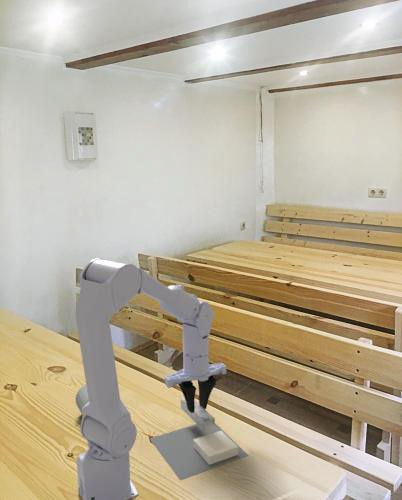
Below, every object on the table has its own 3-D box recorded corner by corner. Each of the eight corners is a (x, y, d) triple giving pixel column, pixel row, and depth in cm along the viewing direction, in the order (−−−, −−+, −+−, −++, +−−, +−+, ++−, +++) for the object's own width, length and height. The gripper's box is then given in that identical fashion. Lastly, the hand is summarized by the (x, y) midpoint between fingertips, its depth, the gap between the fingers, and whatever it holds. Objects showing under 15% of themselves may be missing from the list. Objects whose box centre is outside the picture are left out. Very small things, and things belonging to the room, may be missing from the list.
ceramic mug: (85, 429, 107) (84, 399, 106) (75, 414, 114) (74, 385, 113) (127, 418, 112) (127, 388, 111) (116, 403, 119) (115, 376, 118)
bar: (204, 432, 98) (204, 421, 98) (180, 408, 109) (180, 398, 108) (214, 429, 99) (214, 418, 99) (190, 405, 110) (190, 395, 110)
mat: (180, 481, 89) (180, 479, 89) (149, 440, 103) (149, 438, 103) (248, 456, 96) (248, 455, 96) (211, 421, 110) (211, 419, 110)
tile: (193, 447, 99) (209, 465, 93) (193, 439, 99) (208, 457, 92) (221, 438, 102) (238, 455, 96) (221, 430, 102) (238, 446, 96)
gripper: (173, 365, 95) (175, 426, 97) (233, 352, 101) (233, 408, 104) (160, 354, 101) (162, 410, 103) (217, 341, 107) (217, 395, 110)
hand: (196, 408), depth 104 cm, fingers closed on bar, 2 cm apart
